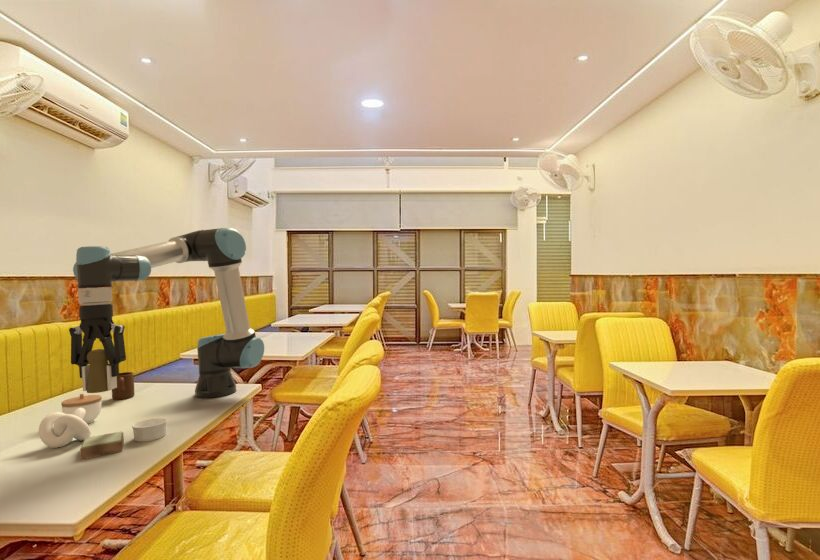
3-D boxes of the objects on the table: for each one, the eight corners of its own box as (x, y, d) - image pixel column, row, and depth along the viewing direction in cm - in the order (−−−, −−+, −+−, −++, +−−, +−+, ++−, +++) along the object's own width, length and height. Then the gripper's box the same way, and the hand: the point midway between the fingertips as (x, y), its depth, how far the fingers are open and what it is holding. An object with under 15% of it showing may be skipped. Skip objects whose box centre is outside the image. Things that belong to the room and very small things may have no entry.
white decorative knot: (105, 436, 135) (103, 405, 135) (67, 451, 123) (65, 418, 123) (73, 434, 137) (72, 405, 137) (33, 450, 126) (31, 417, 126)
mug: (133, 400, 175) (132, 376, 175) (110, 404, 172) (108, 379, 171) (135, 394, 186) (134, 371, 186) (113, 397, 182) (111, 373, 182)
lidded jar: (81, 428, 143) (80, 398, 143) (53, 427, 145) (52, 398, 145) (110, 417, 154) (109, 390, 153) (84, 417, 156) (82, 389, 156)
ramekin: (135, 435, 135) (134, 420, 135) (169, 430, 138) (168, 416, 138) (130, 445, 127) (129, 429, 127) (166, 439, 130) (165, 424, 130)
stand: (123, 441, 130) (123, 430, 130) (122, 451, 122) (121, 440, 122) (85, 448, 125) (84, 437, 125) (80, 459, 117) (80, 447, 117)
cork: (94, 393, 119) (92, 352, 119) (81, 391, 122) (79, 351, 122) (118, 388, 125) (116, 348, 124) (105, 386, 127) (103, 347, 127)
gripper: (49, 306, 119) (54, 394, 120) (122, 303, 119) (126, 391, 119) (71, 304, 127) (75, 387, 127) (139, 301, 127) (143, 384, 127)
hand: (100, 389), depth 123 cm, fingers closed on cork, 6 cm apart
